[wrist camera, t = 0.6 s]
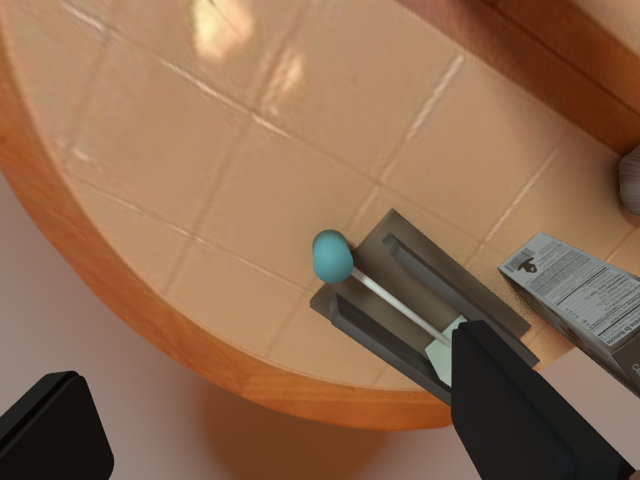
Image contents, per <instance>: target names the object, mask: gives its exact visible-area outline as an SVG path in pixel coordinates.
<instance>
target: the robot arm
mask: <svg viewBox="0 0 640 480" xmlns="http://www.w3.org/2000/svg"><path fill="white" fill-rule="evenodd" d="M451 417H452V421H453V425H454V427H455V430H456V432H457V433H458V435H459V437H460V439H461V441H462V443H463V445H464V447H465V449H466V451H467V452H468V454H469V456H470V458H471V460H472V462H473V464H474V466H475V467H476V469H477V471H478V473H479V475H480V477H481V479H482V480H640V470H637V471H636V470H635V469H634V468H633V467H632V466H631V465H630V464H629V463H628V462H627V461H626V460H625V459H624V458H623V457H622V456H621V455H620V454H619V453H618V452H617V451H616V450H615V449H614V448H613V447H612V446H611V445H610V444H609V443H608V442H607V441H606V440H605V439H604V438H603V437H602V436H601V435H600V434H599V433H598V432H597V431H596V430H595V429H594V428H593V427H592V426H591V425H590V424H589V423H588V422H587V421H586V420H585V419H584V418H583V417H582V416H581V415H580V414H579V413H578V412H577V411H576V410H575V409H574V408H573V407H572V406H571V405H570V404H569V403H568V402H567V401H566V400H565V399H564V398H563V397H562V396H561V395H560V394H559V393H558V392H557V391H556V390H555V389H554V388H553V387H552V386H551V385H550V384H549V383H548V382H547V381H546V380H545V379H544V378H543V377H542V376H541V375H540V374H539V373H537V372H536V371H535V370H533V369H532V368H531V367H530V366H529V365H528V364H527V363H526V362H525V361H524V360H523V359H522V358H521V357H520V356H519V355H518V354H517V353H516V352H515V351H514V350H513V349H512V348H511V347H510V346H509V345H508V344H507V343H506V342H505V341H504V340H503V339H502V338H501V337H500V336H499V335H498V334H497V333H496V332H495V331H494V330H493V329H492V328H491V327H490V326H489V325H488V324H487V323H486V322H485V321H484V320H476V321H468V322H460V323H459V325H458V329H453V330H452V350H451ZM113 467H114V457H113V454H112V451H111V448H110V445H109V443H108V440H107V437H106V434H105V432H104V429H103V426H102V423H101V421H100V418H99V415H98V412H97V410H96V407H95V404H94V401H93V398H92V396H91V393H90V390H89V388H88V385H87V382H86V380H85V378H84V377H83V376H79V374H78V373H77V372H76V371H66V372H57V373H50V374H46V375H45V376H44V377H42V378H41V379H40V380H39V381H38V382H37V383H36V384H35V385H34V386H33V387H32V388H31V389H30V390H29V391H27V392H26V393H25V394H24V395H23V396H22V397H21V398H20V399H19V400H18V401H17V402H16V403H15V404H14V405H13V406H11V408H10V409H9V410H7V411H6V412H5V413H4V414H3V415H2V416H1V417H0V480H109V478H110V476H111V474H112V471H113Z"/></svg>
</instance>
